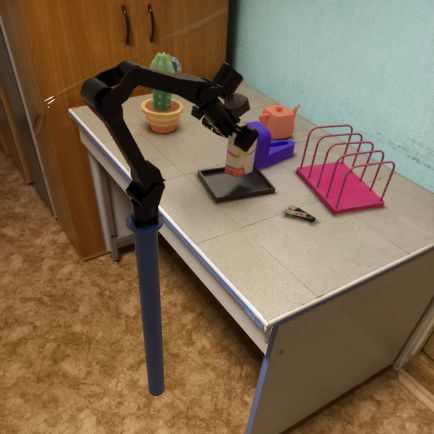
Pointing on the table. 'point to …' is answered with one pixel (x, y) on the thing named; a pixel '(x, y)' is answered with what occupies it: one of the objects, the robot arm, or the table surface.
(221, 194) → the baking tray
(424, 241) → the table surface
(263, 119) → the teapot
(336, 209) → the file sorter
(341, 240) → the table surface
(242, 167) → the ink cartridge box
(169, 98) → the potted cactus
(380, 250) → the table surface
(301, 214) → the usb flash drive
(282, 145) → the bracket
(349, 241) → the table surface
